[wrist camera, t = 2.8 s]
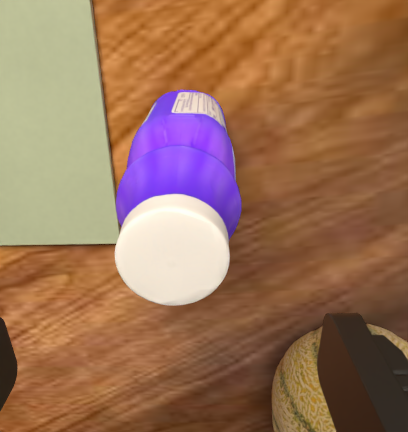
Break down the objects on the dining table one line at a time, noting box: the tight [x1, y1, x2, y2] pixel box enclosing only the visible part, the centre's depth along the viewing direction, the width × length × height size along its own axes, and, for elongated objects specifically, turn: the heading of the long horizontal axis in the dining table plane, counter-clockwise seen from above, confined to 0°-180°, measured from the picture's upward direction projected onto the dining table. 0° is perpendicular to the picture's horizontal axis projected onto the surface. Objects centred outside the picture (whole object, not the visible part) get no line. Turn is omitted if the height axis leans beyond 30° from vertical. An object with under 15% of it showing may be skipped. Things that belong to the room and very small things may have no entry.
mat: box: [0, 0, 120, 246], centre depth 26 cm, size 14×27×1 cm, turn 1°
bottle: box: [115, 90, 241, 305], centre depth 21 cm, size 7×6×17 cm
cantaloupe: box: [272, 324, 408, 432], centre depth 31 cm, size 15×15×15 cm
